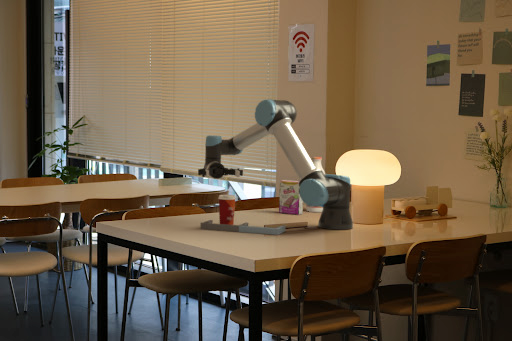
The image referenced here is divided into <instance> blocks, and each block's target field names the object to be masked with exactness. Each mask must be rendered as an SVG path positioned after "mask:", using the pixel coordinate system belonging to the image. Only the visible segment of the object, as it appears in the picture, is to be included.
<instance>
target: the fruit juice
mask: <svg viewBox="0 0 512 341" xmlns="http://www.w3.org/2000/svg"><path fill="white" fill-rule="evenodd" d="M311 160H312V162H313V163H314V165H315V167H316V168H317V169H320V170H322V172H323V173H324V175H325V174H326V171H325V170H324V168H323V166H322V160H323V158H322V156H312V159H311ZM305 211H306V212H308V211H309V212H308V213H322V211H323V206H319V207H316V206H309V205H307V204H306V210H305Z"/></svg>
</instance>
